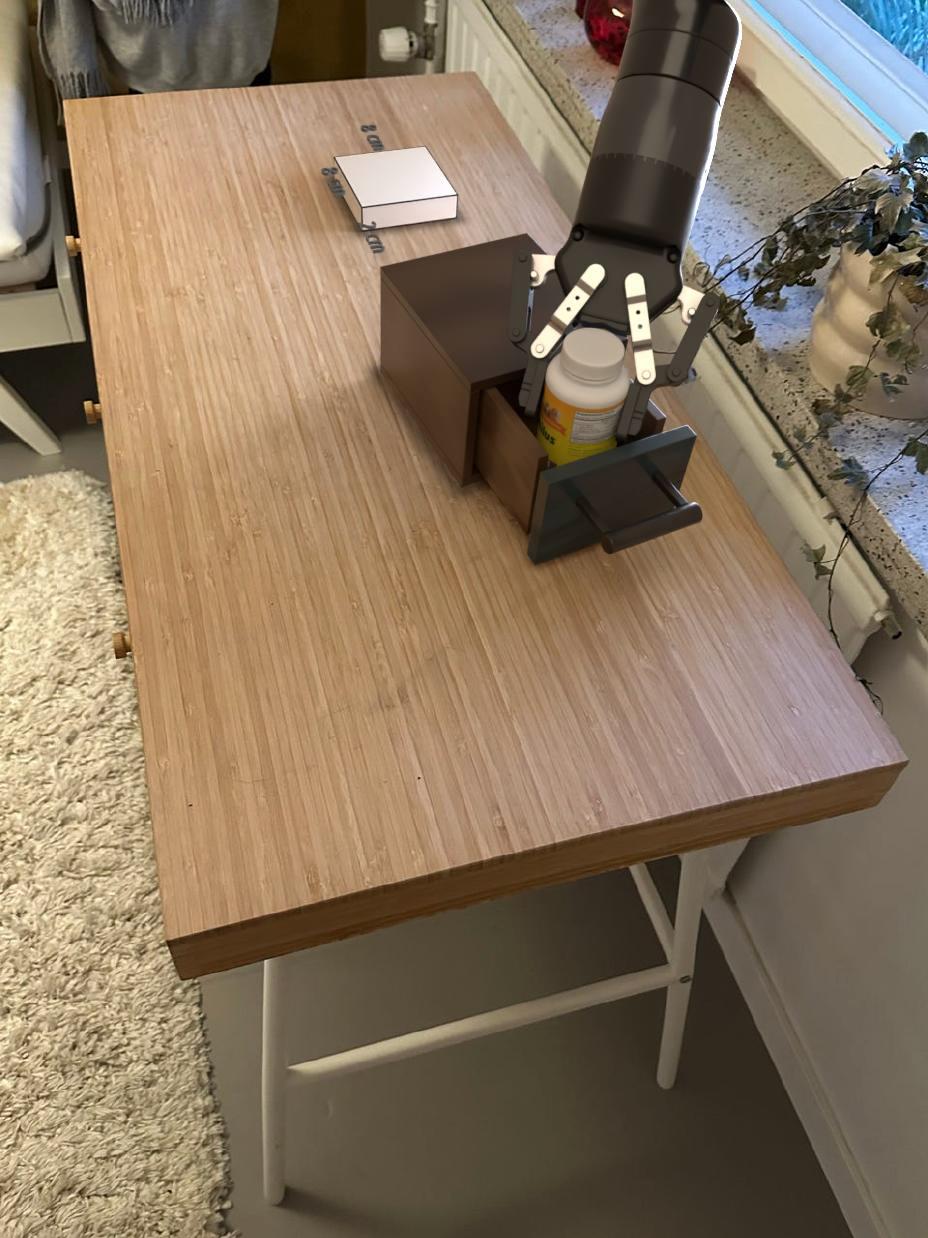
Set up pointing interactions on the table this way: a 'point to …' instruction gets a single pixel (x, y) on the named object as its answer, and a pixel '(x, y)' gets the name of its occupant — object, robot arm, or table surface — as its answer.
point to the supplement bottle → (583, 397)
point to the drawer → (583, 481)
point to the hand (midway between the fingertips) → (575, 429)
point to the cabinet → (456, 338)
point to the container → (392, 187)
